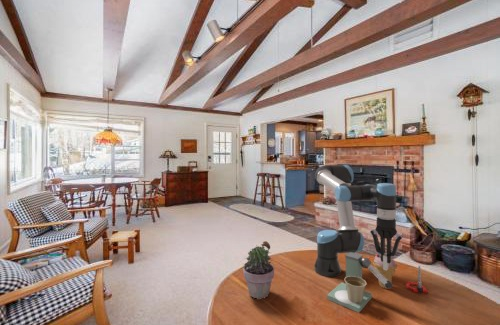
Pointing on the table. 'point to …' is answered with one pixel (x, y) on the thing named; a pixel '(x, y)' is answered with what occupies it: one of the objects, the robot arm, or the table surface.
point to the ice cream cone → (386, 274)
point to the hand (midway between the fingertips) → (385, 269)
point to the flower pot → (355, 288)
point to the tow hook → (417, 284)
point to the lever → (375, 272)
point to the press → (340, 291)
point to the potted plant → (259, 271)
